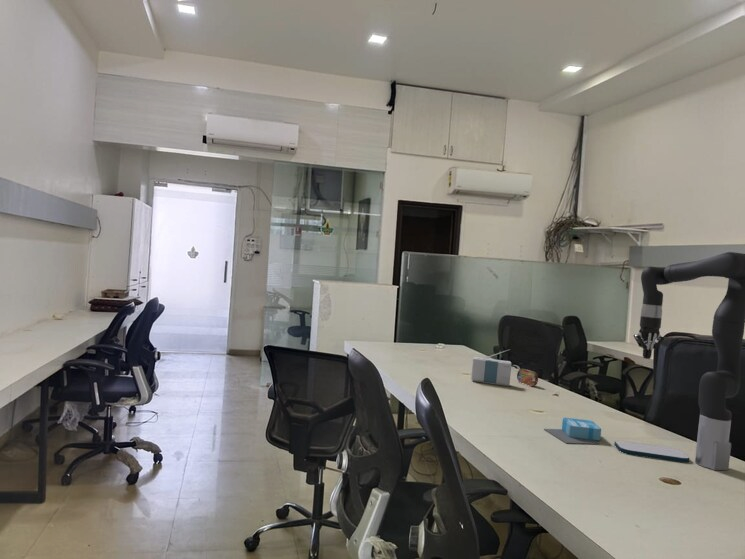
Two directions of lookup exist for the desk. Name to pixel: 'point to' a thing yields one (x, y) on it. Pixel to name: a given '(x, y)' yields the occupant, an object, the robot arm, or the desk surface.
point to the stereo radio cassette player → (491, 370)
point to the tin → (527, 377)
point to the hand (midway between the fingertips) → (646, 358)
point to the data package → (581, 429)
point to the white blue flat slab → (651, 451)
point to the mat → (569, 440)
